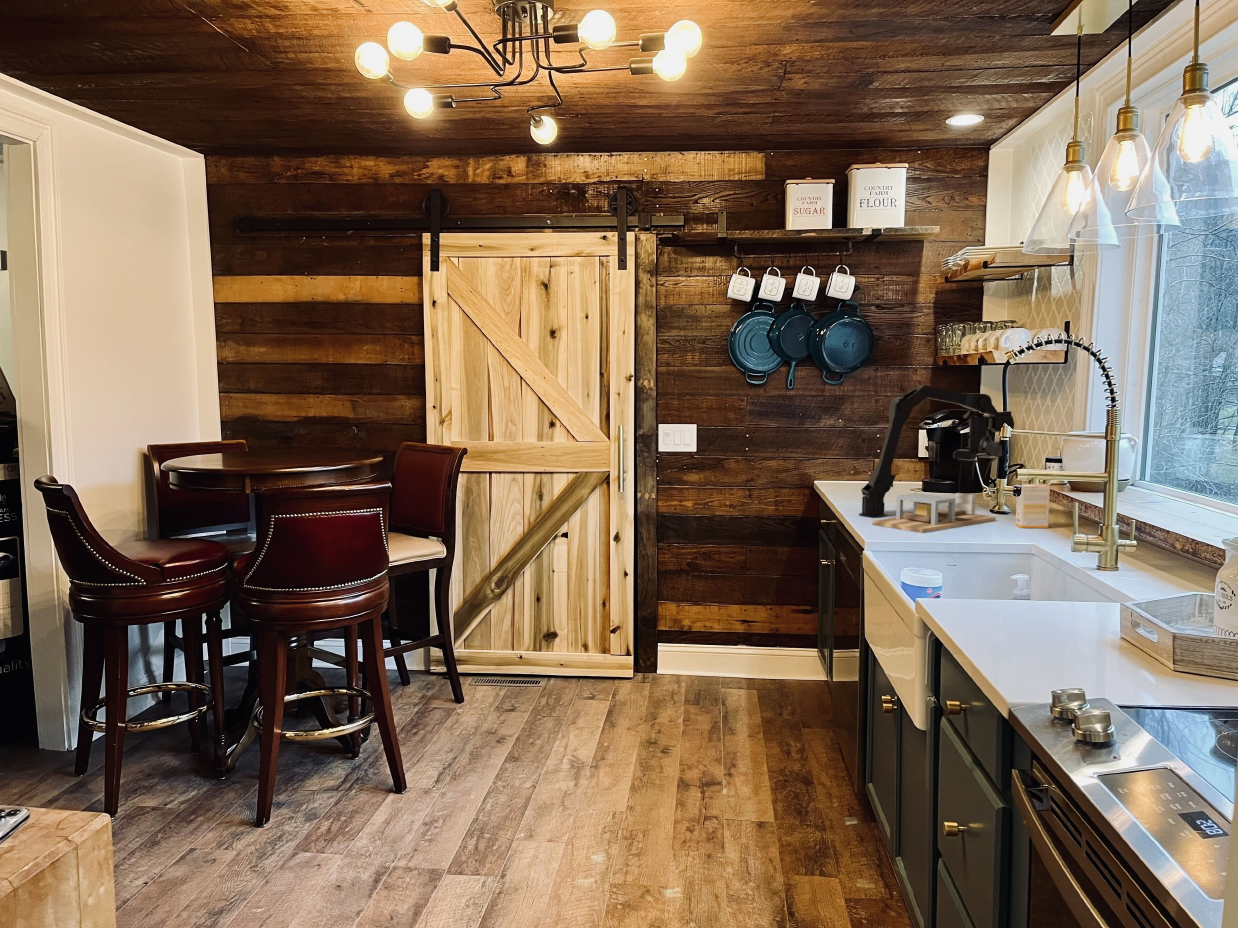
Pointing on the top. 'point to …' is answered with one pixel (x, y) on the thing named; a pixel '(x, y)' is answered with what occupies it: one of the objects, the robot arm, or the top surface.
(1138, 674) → the top surface
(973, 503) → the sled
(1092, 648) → the top surface
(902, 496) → the grey small table
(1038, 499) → the supplement box
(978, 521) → the base board
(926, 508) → the ochre block
